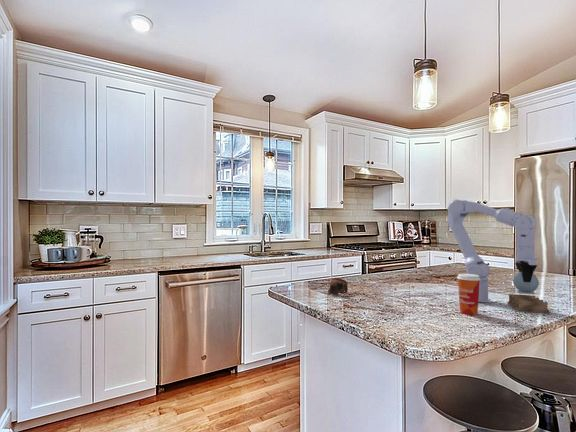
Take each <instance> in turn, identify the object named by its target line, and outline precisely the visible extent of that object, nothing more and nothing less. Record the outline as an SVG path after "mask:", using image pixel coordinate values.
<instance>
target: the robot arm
mask: <svg viewBox="0 0 576 432" xmlns="http://www.w3.org/2000/svg"><path fill="white" fill-rule="evenodd" d="M447 212H448V214H447V223H448V224H447V225H448V226H449V228H450V230H451V233H452V234H453V236H454V239H455V241H456V243H457V244H458V246H459V249H460V251H461V254H462V256H463V257H464V259H465V261H464V265H465V268H466V269H465V270H466V273H465V274H474V275H479V278H480V279H481V280H480V282H479V300H478V303H488V304H489V303H490V304H491V303H492V301H491V300H490V298H489V278H488V276H489V275H490V273H491V268H490V266H489V265H488V264H486V263H485V262H484V259H483V258H482V257H480V256H479V254H478V252H477V249H476V248H475V246H474V244H473V242H472V240H471V238H470V235H469V234H468V231H467V230H466V228H465V226H464V223H463V221H464V220H465V218H466V217H467V216H468V215H469V214H470V213H474V212H476V213H480V214H483V215H486V216H490V217H494V219H495V221H496V222H498V223H501V224H504V225H507V226H510V227H512V228H513V227H515V229H516V257H515V260H516V261H517V262H515V266H516V268H517V269H518V273H519V272H522V277H523V281H524V282H531V279H532V275H533V274H534V272H535V270H536V268H537V267H538V264H537V261H539V258H538V257H536V245H535V244H536V241H535V240H536V239H535V238H536V235H535V228H536V226H537V220H536V219H535V217H533V216H531V215H527V214H525V215H524V213H523V212H517V211H513V210H511V208H509V207H505V208H503V207H502V208H500V209H496V208H493V207H491V206H487V205H485V204H482V203H478V202H476V201H469V200H465V199H463V200H461V199H454V200H451V201H450V202H449V204H448V207H447Z"/></svg>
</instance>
